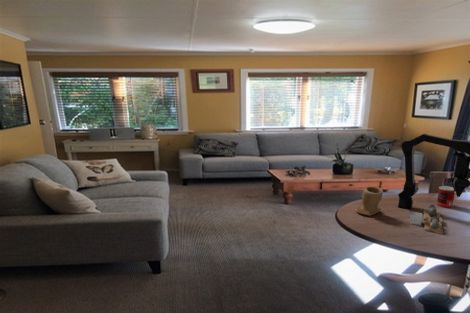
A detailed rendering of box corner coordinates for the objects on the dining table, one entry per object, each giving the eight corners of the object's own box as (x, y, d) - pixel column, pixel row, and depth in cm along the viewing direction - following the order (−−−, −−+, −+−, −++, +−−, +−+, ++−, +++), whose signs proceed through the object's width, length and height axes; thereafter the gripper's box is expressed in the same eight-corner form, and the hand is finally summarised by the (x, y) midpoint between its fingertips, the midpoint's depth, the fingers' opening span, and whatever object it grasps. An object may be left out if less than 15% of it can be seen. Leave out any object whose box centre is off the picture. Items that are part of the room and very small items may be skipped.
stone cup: (372, 219, 149) (375, 192, 146) (352, 212, 158) (354, 186, 155) (387, 213, 157) (390, 187, 154) (367, 206, 167) (369, 182, 164)
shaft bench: (424, 230, 136) (425, 220, 135) (423, 211, 158) (424, 202, 157) (443, 234, 132) (445, 223, 131) (439, 214, 154) (441, 205, 153)
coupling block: (408, 223, 144) (409, 214, 143) (408, 219, 148) (410, 211, 147) (421, 225, 141) (422, 216, 140) (421, 222, 145) (422, 213, 144)
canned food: (451, 204, 169) (454, 187, 167) (453, 209, 162) (456, 190, 160) (436, 202, 173) (438, 185, 171) (436, 206, 166) (439, 188, 164)
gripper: (487, 171, 131) (480, 202, 135) (478, 163, 147) (473, 191, 150) (457, 168, 137) (451, 198, 140) (452, 160, 153) (447, 188, 156)
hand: (456, 194), depth 147 cm, fingers open, 9 cm apart
